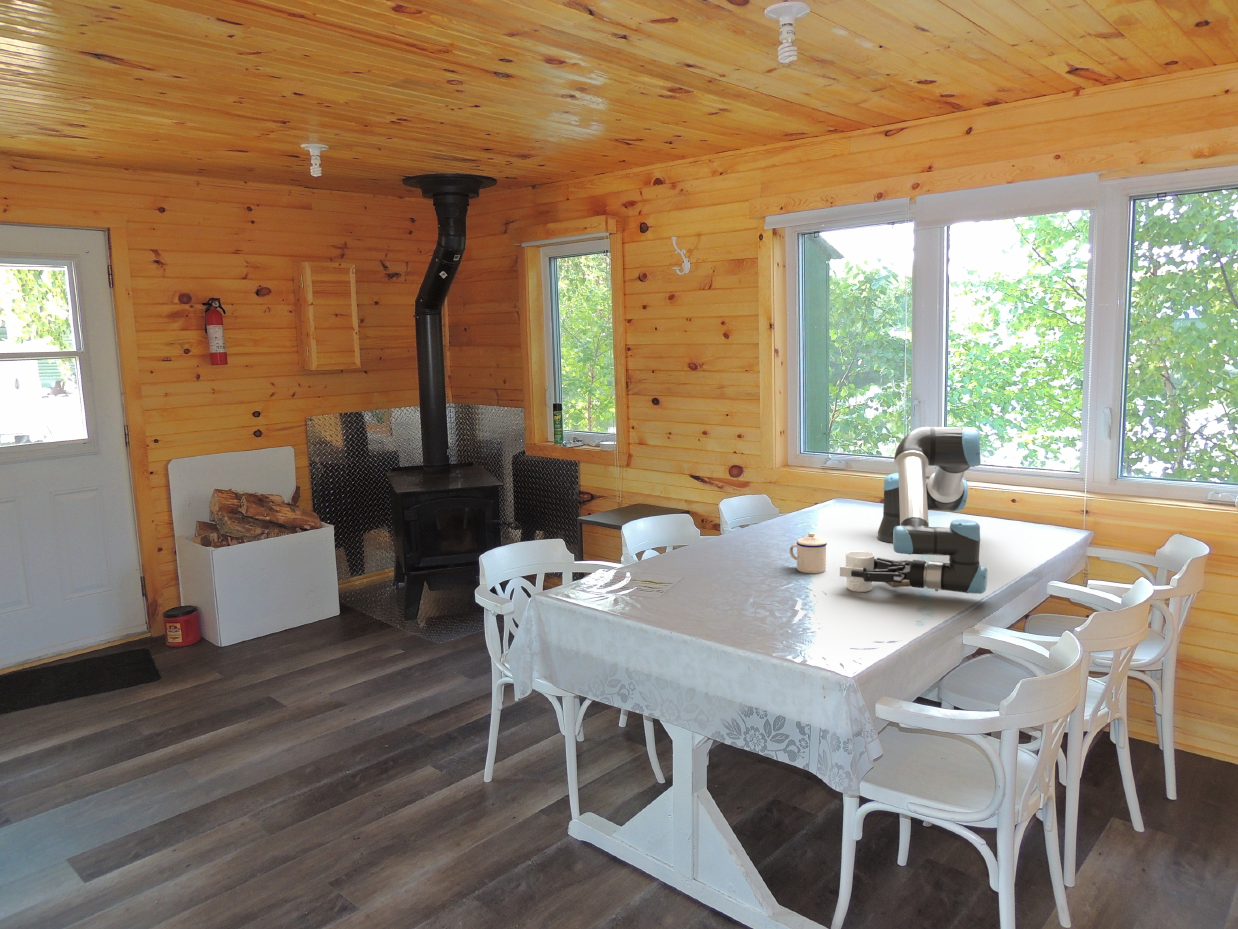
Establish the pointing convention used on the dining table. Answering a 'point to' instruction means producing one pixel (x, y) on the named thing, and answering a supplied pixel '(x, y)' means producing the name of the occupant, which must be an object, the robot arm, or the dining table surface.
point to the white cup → (859, 561)
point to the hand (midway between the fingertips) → (844, 566)
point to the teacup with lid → (810, 554)
